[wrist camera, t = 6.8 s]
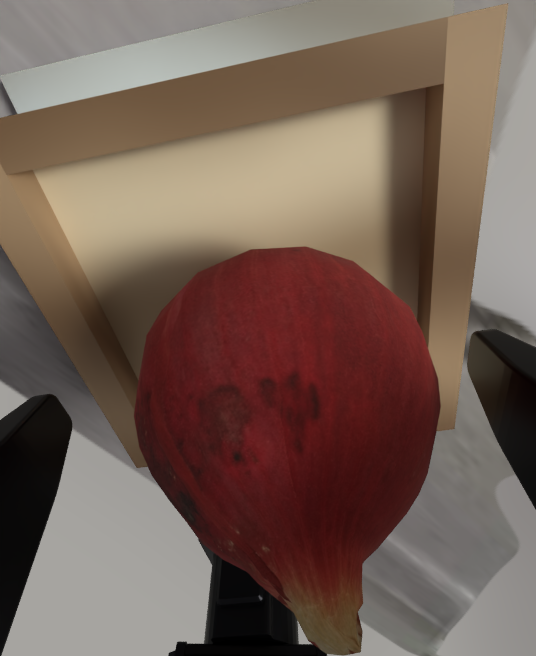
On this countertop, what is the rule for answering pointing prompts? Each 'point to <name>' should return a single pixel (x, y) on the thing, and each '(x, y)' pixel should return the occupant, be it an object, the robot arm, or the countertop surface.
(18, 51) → the countertop surface
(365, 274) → the onion
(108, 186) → the tan square tray
